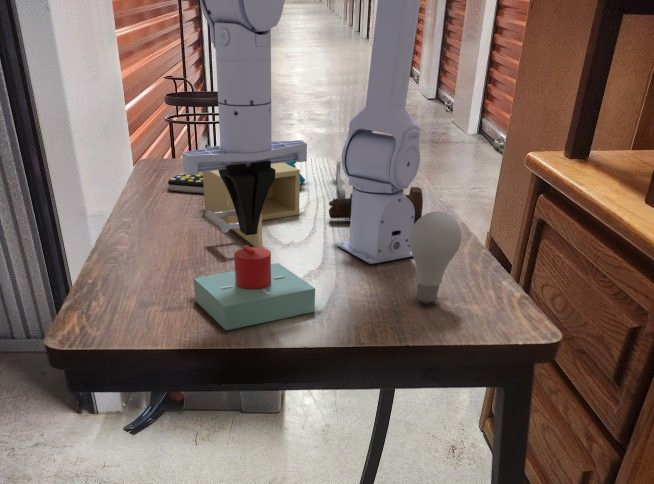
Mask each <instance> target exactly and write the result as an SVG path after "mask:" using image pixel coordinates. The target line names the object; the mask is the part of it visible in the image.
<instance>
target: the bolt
mask: <svg viewBox="0 0 654 484" xmlns="http://www.w3.org/2000/svg"><path fill="white" fill-rule="evenodd" d="M349 196H350V197H345V198H342V199H341V198H340V199H339V198H338V197H337V198H335V197H334V198H333V199H332V200H331V201H329V202H328V205H329V207H330V208H329V209H328V216H329V218H331V219H334V220H337V219H339V220H340V219H341V220H342V219H349V222H350V221H351V205H352V192H351V193H350V195H349ZM405 196H406V197H407V198H408V199H409V200H410V201H411V202H412V204H413V206H414V210H415V218H414V224H415V223H416V221H417V220H418V219H419V218H421V217H422V216H423V215H422V214H423V207H424V204H423V203H424V197H423V190H422V188H420V187H418V186H410V188H409V194H405Z"/></svg>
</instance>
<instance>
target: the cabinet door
mask: <svg viewBox="0 0 654 484" xmlns="http://www.w3.org/2000/svg"><path fill="white" fill-rule="evenodd" d="M225 188H226V186H225ZM226 208H227V210H226V211H219V212H212V211H211V210H207V211H205V212H204V218H205V219H206V220H207V221H208V222H210V223H211V224H212V225H213V226H214V227H215V228H217V229H218V230H219V231H220V232H222V233H225V234H226V233H228V232H229V231H230V230H233V231H234V232H235V233H236V234H238V235H239V236H240V237H242V238H243V239H244V240H245V241H247V242H248V243H249V244H251V246H252V247H257V248H263V226H262V225H263V220H262V211H261V215H260V219H259V224H258V229H257V234H253V235H245V234H244V233H242V232H241V231H240V227H239V223H238V218H237V215H236V211H235V208H234V205H233V202H232V199H231V197H230V195H229V192H228V190H227V188H226ZM226 216H227V222H225V221H224V220H223V219H221V218H220V217H226Z"/></svg>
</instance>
